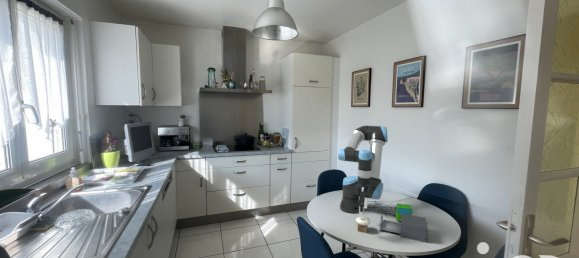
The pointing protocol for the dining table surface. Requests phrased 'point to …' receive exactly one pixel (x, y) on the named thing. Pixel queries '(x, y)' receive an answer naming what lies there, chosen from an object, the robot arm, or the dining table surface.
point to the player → (414, 227)
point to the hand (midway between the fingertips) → (363, 212)
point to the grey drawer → (390, 226)
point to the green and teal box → (403, 210)
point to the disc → (363, 220)
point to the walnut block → (362, 228)
